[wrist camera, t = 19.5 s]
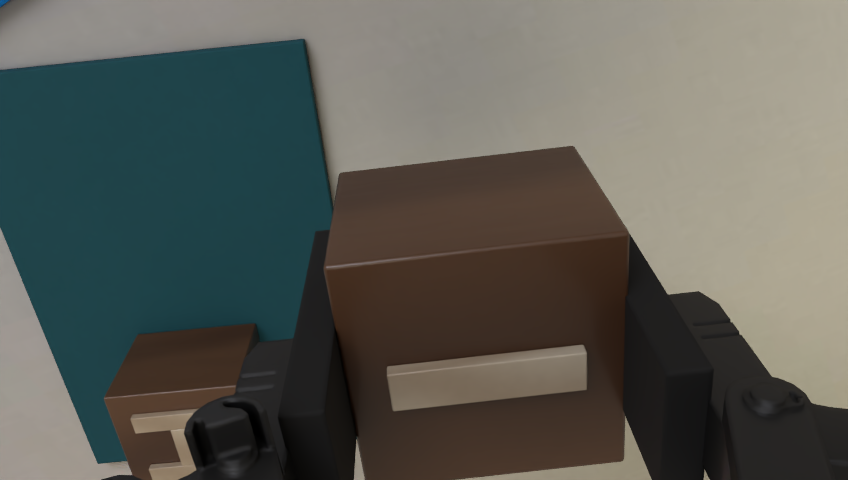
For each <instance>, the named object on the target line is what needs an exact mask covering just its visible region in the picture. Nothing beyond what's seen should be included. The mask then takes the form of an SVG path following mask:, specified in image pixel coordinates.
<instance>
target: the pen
mask: <svg viewBox="0 0 848 480" xmlns="http://www.w3.org/2000/svg"><path fill="white" fill-rule="evenodd" d="M8 1H9V0H0V7H1V6H3V5H4V4H5V3H7V2H8Z"/></svg>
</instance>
